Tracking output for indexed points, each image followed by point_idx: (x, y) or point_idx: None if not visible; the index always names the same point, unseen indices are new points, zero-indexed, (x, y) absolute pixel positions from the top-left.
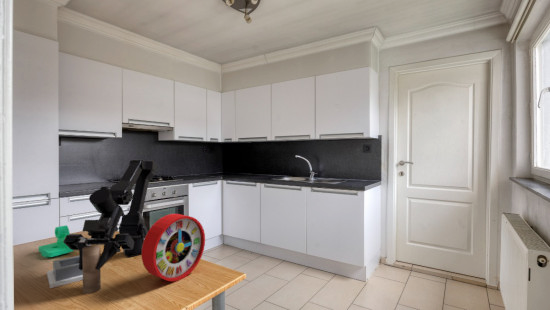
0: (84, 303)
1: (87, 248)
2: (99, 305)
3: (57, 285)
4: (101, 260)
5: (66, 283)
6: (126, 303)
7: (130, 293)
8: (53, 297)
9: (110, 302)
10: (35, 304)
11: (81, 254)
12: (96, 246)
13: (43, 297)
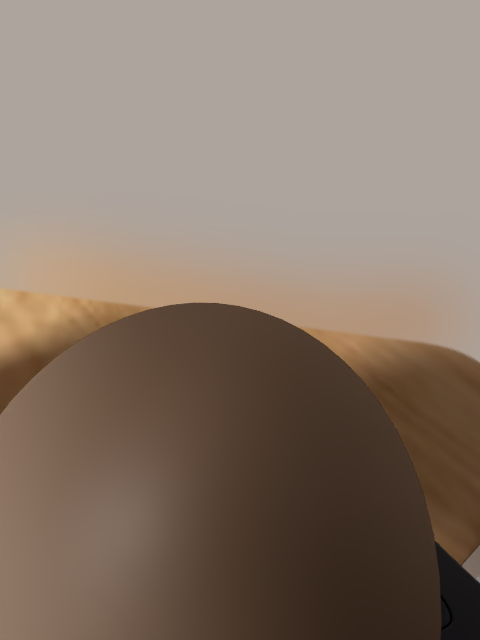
0: None
1: (269, 434)
2: (140, 306)
3: (475, 554)
4: None
5: None
6: (37, 306)
7: (19, 389)
8: (379, 401)
9: (102, 321)
10: (408, 347)
11: None
12: (48, 637)
13: (429, 408)
